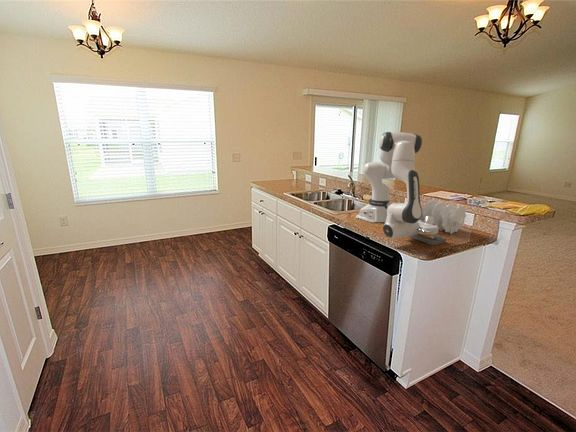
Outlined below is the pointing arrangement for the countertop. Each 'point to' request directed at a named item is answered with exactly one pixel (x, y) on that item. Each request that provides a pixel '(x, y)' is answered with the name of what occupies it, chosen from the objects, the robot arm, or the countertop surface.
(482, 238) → the countertop surface
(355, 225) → the countertop surface
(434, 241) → the board
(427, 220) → the metal post on plate
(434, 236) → the hook
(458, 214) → the spiral staircase
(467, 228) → the countertop surface
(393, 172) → the robot arm
